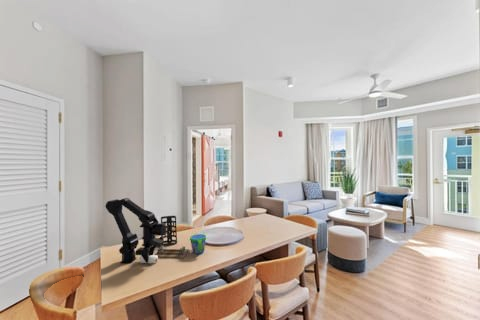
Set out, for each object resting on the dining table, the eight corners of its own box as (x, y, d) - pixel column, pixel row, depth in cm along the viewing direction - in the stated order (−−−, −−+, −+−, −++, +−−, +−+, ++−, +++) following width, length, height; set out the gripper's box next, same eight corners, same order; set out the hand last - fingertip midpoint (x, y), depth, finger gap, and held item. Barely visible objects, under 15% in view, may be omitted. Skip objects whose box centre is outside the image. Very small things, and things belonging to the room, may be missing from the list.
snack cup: (190, 248, 148) (189, 233, 148) (205, 246, 150) (205, 232, 150) (190, 258, 133) (190, 241, 133) (207, 255, 135) (207, 239, 135)
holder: (161, 246, 151) (160, 217, 153) (160, 243, 158) (160, 216, 160) (177, 244, 155) (177, 216, 158) (176, 241, 162) (176, 214, 164)
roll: (139, 264, 126) (139, 257, 126) (143, 261, 130) (143, 253, 130) (155, 264, 125) (154, 257, 125) (158, 261, 130) (158, 253, 130)
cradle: (152, 257, 134) (152, 251, 134) (160, 250, 145) (160, 244, 145) (183, 258, 133) (183, 251, 133) (189, 250, 144) (189, 244, 144)
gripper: (154, 240, 118) (154, 268, 118) (167, 229, 137) (168, 254, 136) (134, 240, 119) (135, 268, 119) (151, 229, 137) (151, 253, 137)
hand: (148, 260), depth 128 cm, fingers closed on roll, 4 cm apart
